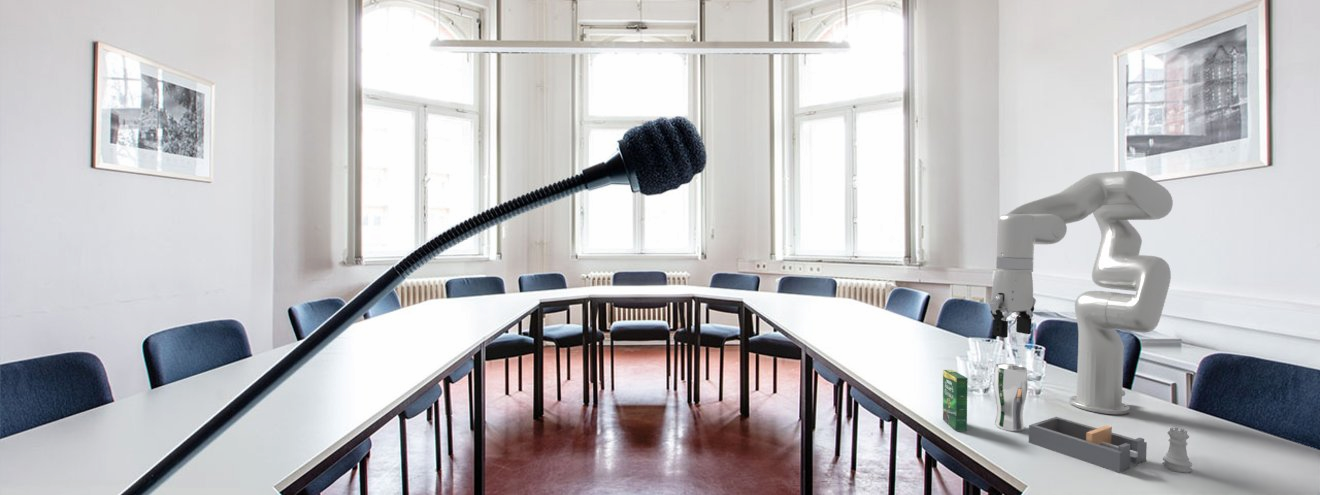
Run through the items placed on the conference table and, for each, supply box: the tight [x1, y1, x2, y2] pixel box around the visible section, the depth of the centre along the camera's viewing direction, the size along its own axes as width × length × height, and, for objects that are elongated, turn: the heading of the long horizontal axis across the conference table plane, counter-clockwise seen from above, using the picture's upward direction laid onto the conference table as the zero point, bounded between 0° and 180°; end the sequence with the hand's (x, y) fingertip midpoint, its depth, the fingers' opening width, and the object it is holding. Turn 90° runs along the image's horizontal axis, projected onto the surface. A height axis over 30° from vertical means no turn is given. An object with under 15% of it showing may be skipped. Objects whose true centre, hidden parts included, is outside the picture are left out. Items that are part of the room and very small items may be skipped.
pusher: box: [1086, 425, 1138, 458], centre depth 113 cm, size 8×7×5 cm
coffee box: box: [942, 369, 969, 432], centre depth 133 cm, size 8×3×13 cm, turn 174°
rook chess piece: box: [1161, 427, 1193, 474], centre depth 109 cm, size 4×4×8 cm
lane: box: [1028, 416, 1148, 474], centre depth 118 cm, size 11×17×5 cm
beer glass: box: [993, 362, 1029, 432], centre depth 132 cm, size 7×7×15 cm
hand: (1011, 334), depth 131 cm, fingers open, 9 cm apart
